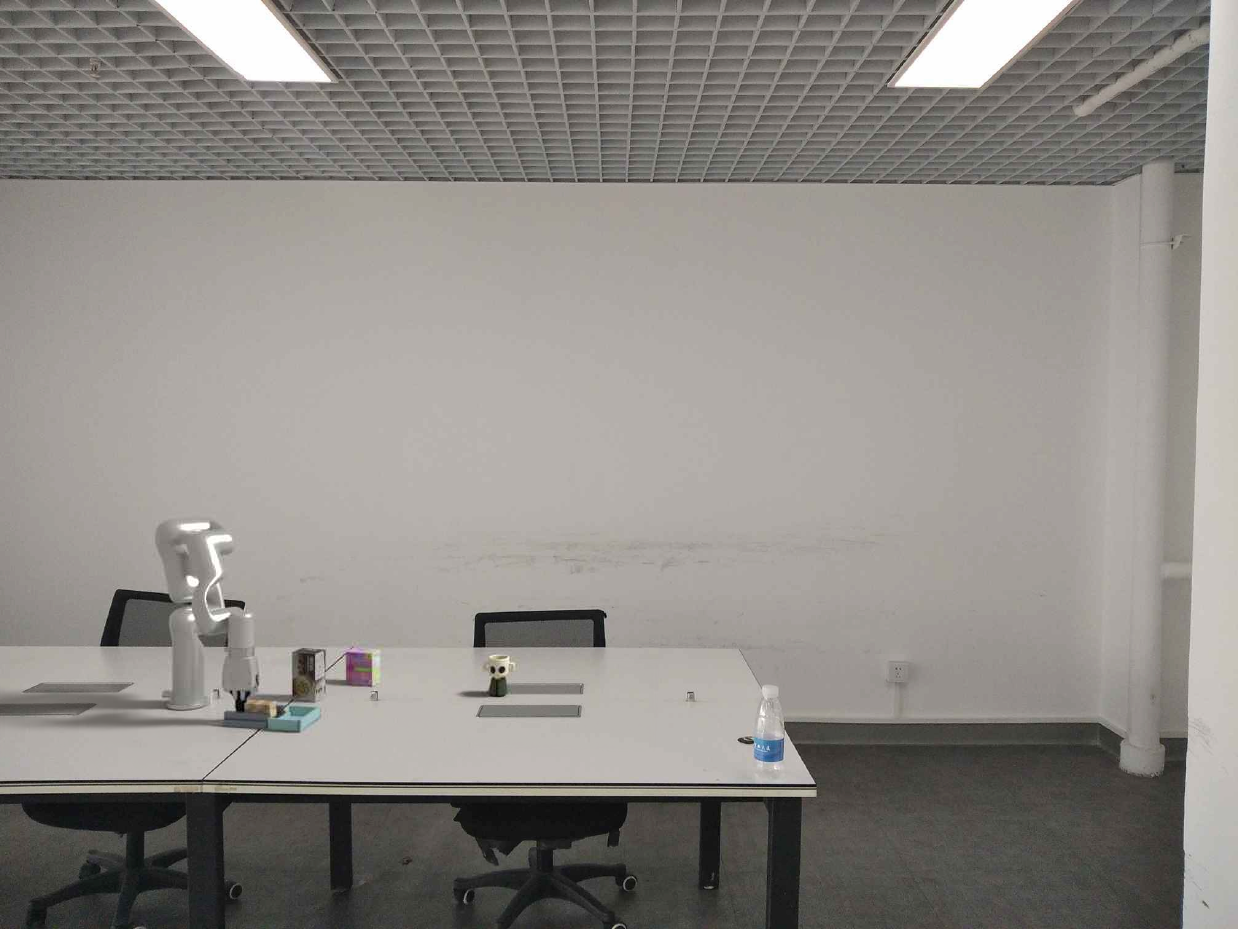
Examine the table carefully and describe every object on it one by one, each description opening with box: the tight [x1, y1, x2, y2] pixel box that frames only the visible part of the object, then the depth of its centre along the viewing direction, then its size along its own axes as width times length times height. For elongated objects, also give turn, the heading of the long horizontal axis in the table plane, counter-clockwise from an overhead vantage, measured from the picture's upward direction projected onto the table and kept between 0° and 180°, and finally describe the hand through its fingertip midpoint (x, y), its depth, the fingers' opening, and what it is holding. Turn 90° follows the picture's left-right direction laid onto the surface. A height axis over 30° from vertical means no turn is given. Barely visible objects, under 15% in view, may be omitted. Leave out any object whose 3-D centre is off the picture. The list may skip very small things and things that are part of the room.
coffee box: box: [291, 647, 327, 703], centre depth 312 cm, size 9×6×16 cm
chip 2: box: [257, 700, 277, 717], centre depth 286 cm, size 4×4×4 cm
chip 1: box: [245, 699, 264, 712], centre depth 287 cm, size 4×4×4 cm
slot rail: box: [221, 704, 287, 730], centre depth 287 cm, size 14×12×4 cm
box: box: [345, 647, 381, 687], centre depth 332 cm, size 10×6×12 cm, turn 76°
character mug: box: [482, 654, 516, 696], centre depth 321 cm, size 11×7×13 cm, turn 87°
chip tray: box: [267, 704, 322, 733], centre depth 285 cm, size 10×14×4 cm
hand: (241, 711), depth 287 cm, fingers closed
